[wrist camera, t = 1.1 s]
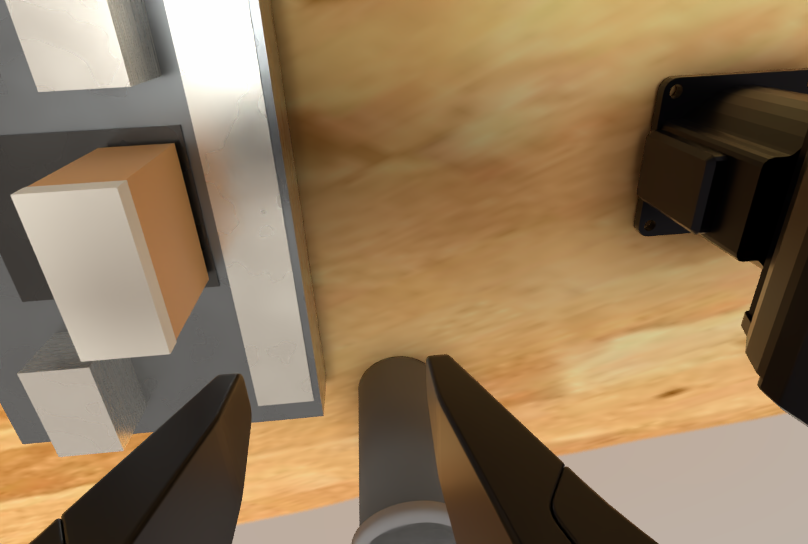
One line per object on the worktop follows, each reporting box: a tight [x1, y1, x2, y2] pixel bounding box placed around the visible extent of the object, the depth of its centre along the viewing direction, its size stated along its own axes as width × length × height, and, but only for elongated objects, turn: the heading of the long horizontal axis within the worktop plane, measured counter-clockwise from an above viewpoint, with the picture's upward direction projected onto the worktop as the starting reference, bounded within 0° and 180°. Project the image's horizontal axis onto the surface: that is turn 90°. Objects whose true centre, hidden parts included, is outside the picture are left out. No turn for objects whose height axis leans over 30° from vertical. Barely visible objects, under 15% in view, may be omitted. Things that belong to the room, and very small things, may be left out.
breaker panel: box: [0, 0, 326, 457], centre depth 18 cm, size 13×20×5 cm, turn 3°
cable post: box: [352, 357, 456, 544], centre depth 22 cm, size 5×5×9 cm
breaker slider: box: [10, 143, 209, 362], centre depth 15 cm, size 2×5×5 cm, turn 3°
